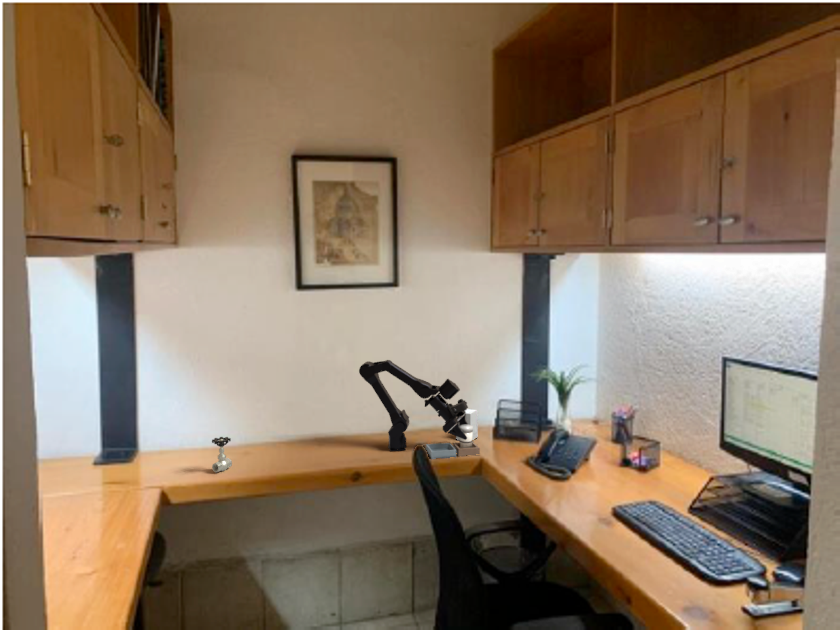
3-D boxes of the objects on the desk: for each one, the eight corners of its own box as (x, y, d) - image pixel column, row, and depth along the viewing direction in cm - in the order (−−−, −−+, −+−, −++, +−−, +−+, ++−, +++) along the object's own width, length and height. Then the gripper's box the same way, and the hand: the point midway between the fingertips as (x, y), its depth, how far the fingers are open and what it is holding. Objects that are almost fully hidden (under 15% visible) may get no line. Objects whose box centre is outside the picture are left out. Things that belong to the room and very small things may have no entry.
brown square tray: (458, 456, 253) (458, 449, 252) (453, 450, 261) (453, 443, 261) (479, 455, 255) (479, 447, 254) (473, 448, 263) (473, 441, 263)
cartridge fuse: (461, 455, 255) (461, 428, 254) (458, 451, 260) (458, 424, 259) (474, 454, 256) (474, 427, 255) (470, 450, 261) (470, 424, 260)
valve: (209, 471, 236) (208, 440, 235) (222, 466, 242) (221, 435, 241) (222, 474, 233) (221, 442, 232) (235, 469, 239) (234, 438, 237)
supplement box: (478, 438, 278) (478, 410, 276) (470, 442, 271) (470, 413, 270) (463, 435, 282) (463, 407, 280) (455, 440, 275) (455, 411, 274)
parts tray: (431, 459, 250) (431, 451, 249) (426, 451, 259) (426, 444, 259) (456, 457, 252) (456, 450, 252) (449, 449, 262) (449, 442, 261)
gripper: (450, 399, 248) (478, 429, 246) (460, 389, 266) (486, 417, 264) (431, 418, 251) (458, 447, 249) (442, 407, 269) (468, 434, 267)
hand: (468, 435), depth 257 cm, fingers open, 9 cm apart
